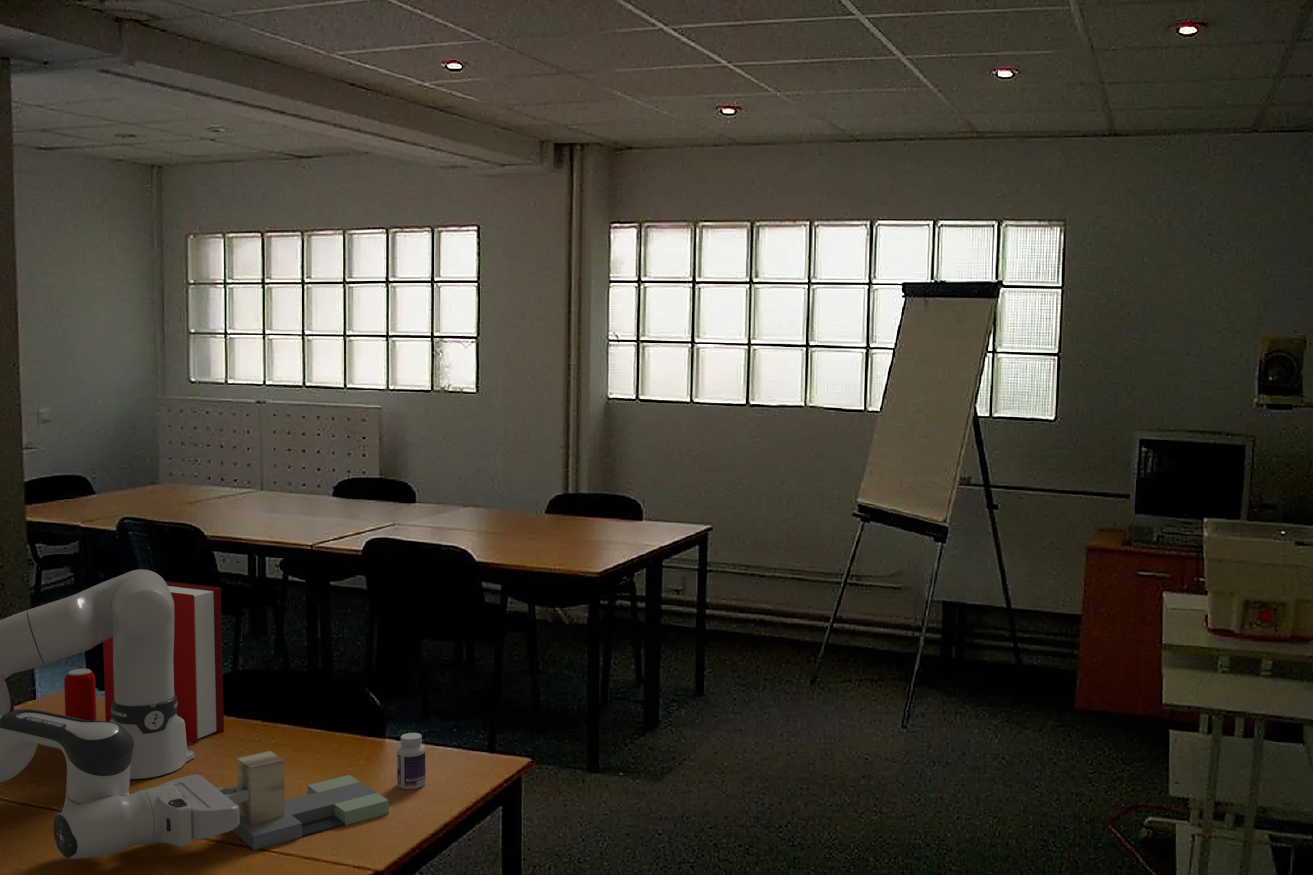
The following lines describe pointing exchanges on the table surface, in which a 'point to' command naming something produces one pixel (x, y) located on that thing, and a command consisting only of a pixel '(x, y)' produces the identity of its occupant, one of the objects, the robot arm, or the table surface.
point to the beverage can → (80, 694)
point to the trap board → (316, 812)
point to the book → (190, 660)
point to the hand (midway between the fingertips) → (246, 792)
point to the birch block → (262, 786)
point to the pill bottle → (411, 762)
